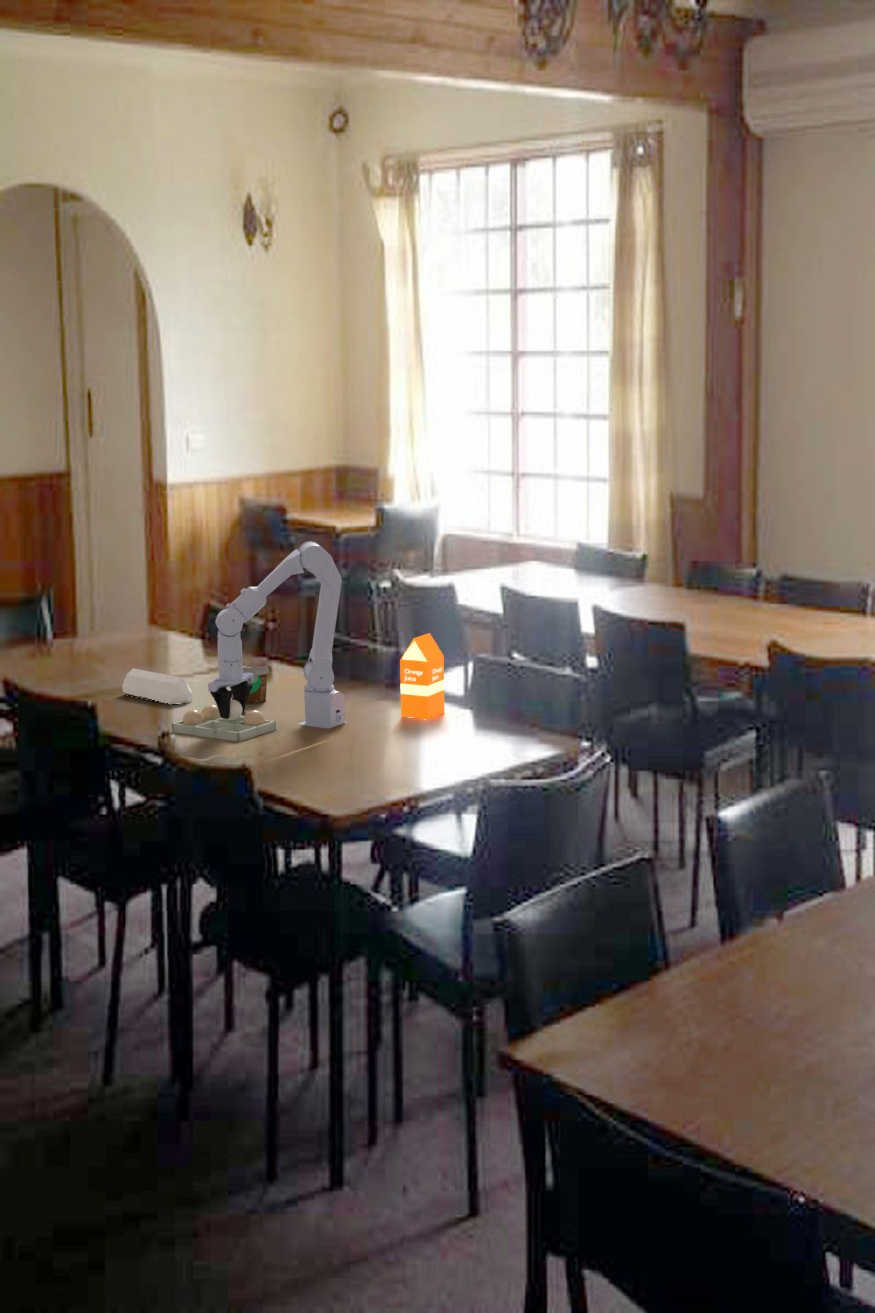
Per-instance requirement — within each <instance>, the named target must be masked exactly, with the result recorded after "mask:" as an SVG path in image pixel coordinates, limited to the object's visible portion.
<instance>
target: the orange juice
mask: <svg viewBox="0 0 875 1313" xmlns="http://www.w3.org/2000/svg"><path fill="white" fill-rule="evenodd" d="M444 657H445V656H444V654H443V652H442V651H441V649H440V648H439V646H438V644H437V642H436V641H435V639H434V638H433V636H432V635H431V633H430V632H429V633H425V634H423V635H420V636H417V637H414V638H412V641H411V643H410V644H409V646H408V647H407V649H406V651H405V652H404V654H403V655H402V657H401V658H400V660H399V668H400V670H399V671H400V673H399V674H400V675H399V676H400V689H399V690H400V717H414V718H420V719H426V720H425V721H430V720H432V719H434V718H433V717H435V718H437V717H439V716H441V715H444V714H445V671H444V670H445V669H444V668H445V667H444V666H445V665H444V662H445V660H444ZM443 713H444V714H443ZM440 714H441V715H440ZM431 718H432V719H431ZM420 719H419V720H420ZM429 719H430V720H429Z"/></svg>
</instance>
